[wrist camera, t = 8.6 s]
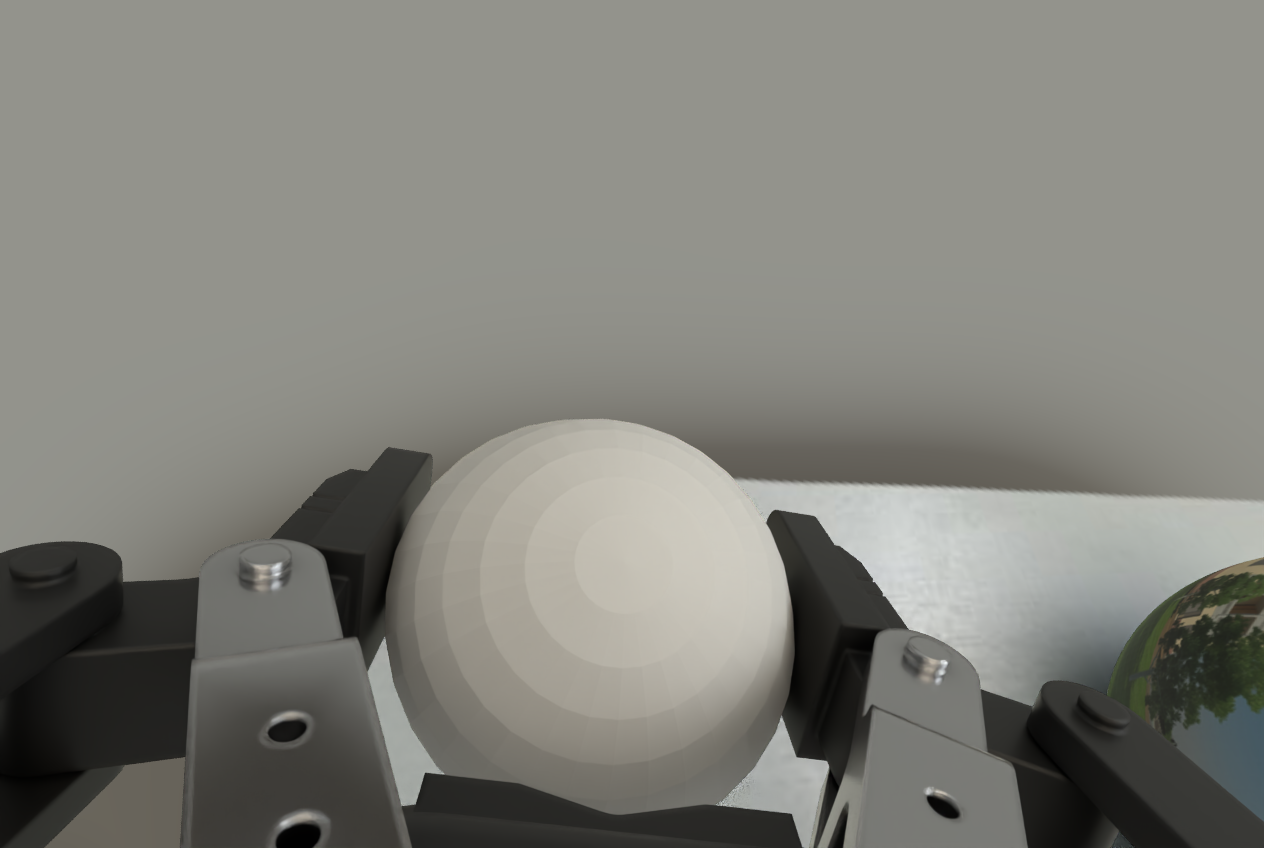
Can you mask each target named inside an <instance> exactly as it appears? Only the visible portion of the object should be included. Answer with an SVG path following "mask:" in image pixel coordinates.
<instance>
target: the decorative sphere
mask: <svg viewBox="0 0 1264 848" xmlns="http://www.w3.org/2000/svg"><path fill="white" fill-rule="evenodd" d="M1107 696H1109V697H1111V698H1113V699H1115V700H1116V701H1118V702H1120V703H1121V704H1123V705H1125V706H1126V707H1128V708H1129V709H1131V710H1132V711H1133V712H1135V713H1136V714H1137V715H1139V716H1140V717H1141V718H1142V719H1143V720H1145V721H1146V722H1147V723H1148V724H1149V725H1151V726H1152V727H1153V728H1154V729H1155V730H1156V731H1158V732H1159V733H1160V734H1161V735H1162V736H1163V737H1165V738H1166V739H1167V740H1168V741H1169V742H1170V743H1172V744H1173V745H1174V746H1175V747H1176V748H1178V749H1179V750H1180V751H1181V752H1182V753H1183V754H1185V755H1186V756H1187V757H1188V758H1189V759H1190V760H1192V761H1193V762H1194V763H1195V764H1196V765H1198V766H1199V767H1200V768H1201V769H1202V770H1203V771H1205V772H1206V773H1207V774H1208V775H1209V776H1210V777H1212V778H1213V779H1214V780H1215V781H1216V782H1217V783H1219V784H1220V785H1221V786H1222V787H1223V788H1225V789H1226V790H1227V791H1228V792H1229V793H1230V794H1232V795H1233V796H1234V797H1235V798H1236V799H1237V800H1239V801H1240V802H1241V803H1242V804H1243V805H1245V806H1246V807H1247V808H1248V809H1249V810H1250V811H1252V812H1253V813H1254V814H1255V815H1256V816H1257V817H1259V818H1260V819H1261V820H1262V821H1263V822H1264V557H1263V558H1259V559H1255V560H1251V561H1247V562H1243V563H1240V564H1236V565H1233V566H1230V567H1227V568H1225V569H1222V570H1219V571H1217V572H1214V573H1212V574H1210V575H1207V576H1205V577H1203V578H1201V579H1199V580H1197V581H1195V582H1193V583H1191V584H1190V585H1188V586H1186V587H1184V588H1183V589H1181V590H1180V591H1178V592H1177V593H1175V594H1174V595H1172V596H1171V597H1169V598H1168V599H1167V600H1165V601H1164V602H1163V603H1162V604H1160V605H1159V606H1158V607H1157V608H1156V609H1155V610H1154V611H1153V612H1152V613H1151V614H1150V615H1148V616H1147V618H1146V619H1145V620H1144V621H1143V622H1142V623H1141V624H1140V625H1139V627H1138V628H1137V629H1136V630H1135V632H1134V633H1133V634H1132V636H1131V637H1130V639H1129V640H1128V642H1127V644H1126V645H1125V647H1124V649H1123V650H1122V652H1121V654H1120V656H1119V658H1118V661H1117V663H1116V665H1115V668H1114V670H1113V673H1112V676H1111V680H1110V683H1109V687H1108V691H1107Z"/></svg>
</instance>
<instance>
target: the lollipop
mask: <svg viewBox="0 0 1264 848" xmlns="http://www.w3.org/2000/svg"><path fill="white" fill-rule="evenodd" d="M385 639H386V644H387V650H388V655H389V661H390V666H391V672H392V677H393V682H394V686H395V688H396V691H397V693H398V696H399V698H400V701H401V703H402V706H403V708H404V711H405V713H406V716H407V718H408V721H409V723H410V726H411V728H412V730H413V731H414V733H415V734H416V736H417V737H418V739H419V740H420V742H421V743H422V745H423V746H424V748H425V749H426V751H427V752H428V754H429V755H430V757H431V758H432V760H433V761H434V763H435V764H436V766H437V767H438V768H439V769H440V770H441V771H442V772H443V773H444V774H445V775H450V776H459V777H467V778H476V779H485V780H494V781H503V782H512V783H520V784H523V785H526V786H529V787H531V788H534V789H537V790H540V791H543V792H546V793H549V794H552V795H555V796H558V797H561V798H564V799H567V800H570V801H572V802H575V803H578V804H581V805H584V806H587V807H590V808H593V809H596V810H599V811H602V812H605V813H609V814H615V815H624V814H632V813H640V812H648V811H656V810H664V809H672V808H680V807H688V806H696V805H704V804H708V805H716V804H717V803H719V802H720V801H722V800H723V799H724V798H725V797H726V796H727V795H728V794H729V793H730V792H731V791H732V790H733V789H734V788H735V787H736V786H737V785H738V784H739V783H740V782H741V781H742V780H743V779H744V778H745V777H746V776H747V775H748V774H749V773H750V772H751V770H752V769H753V768H754V767H755V765H756V763H757V762H758V760H759V759H760V757H761V755H762V754H763V752H764V750H765V749H766V747H767V745H768V744H769V742H770V741H771V739H772V737H773V736H774V734H775V732H776V729H777V726H778V724H779V721H780V718H781V715H782V712H783V710H784V707H785V704H786V701H787V698H788V696H789V691H790V684H791V677H792V670H793V663H794V657H795V645H794V622H793V610H792V603H791V598H790V593H789V588H788V583H787V578H786V573H785V568H784V564H783V561H782V559H781V556H780V554H779V551H778V549H777V546H776V544H775V541H774V538H773V536H772V533H771V531H770V529H769V527H768V526H767V524H766V523H765V521H764V519H763V518H762V516H761V514H760V513H759V511H758V510H757V508H756V506H755V505H754V503H753V501H752V500H751V499H750V498H749V496H748V495H747V494H746V493H745V492H744V491H743V490H742V488H741V487H740V486H739V485H738V484H737V483H736V482H735V481H734V479H733V478H732V477H731V476H730V475H729V474H728V473H727V472H726V471H725V470H723V469H722V468H721V467H720V466H719V465H717V464H716V463H715V462H714V461H712V460H711V459H710V458H709V457H707V456H706V455H705V454H704V453H702V452H701V451H699V450H698V449H696V448H694V447H692V446H690V445H688V444H686V443H685V442H683V441H681V440H679V439H678V438H676V437H674V436H672V435H669V434H666V433H663V432H660V431H657V430H654V429H652V428H649V427H645V426H643V425H640V424H635V423H628V422H622V421H616V420H609V419H574V420H573V419H572V420H559V421H553V422H547V423H541V424H536V425H530V426H525V427H523V428H520V429H517V430H515V431H512V432H510V433H507V434H504V435H502V436H499V437H496V438H494V439H492V440H490V441H488V442H487V443H485V444H484V445H482V446H480V447H479V448H477V449H476V450H474V451H472V452H471V453H469V454H468V455H466V456H464V457H463V458H461V459H460V460H459V461H458V462H457V463H456V464H455V465H454V466H453V467H452V468H450V469H449V470H448V471H447V472H446V473H445V474H444V475H443V476H442V477H441V478H440V479H439V480H438V481H437V482H435V483H434V485H433V486H432V487H431V489H430V490H429V492H428V493H427V494H426V496H425V497H424V499H423V500H422V501H421V503H420V504H419V505H418V507H417V508H416V510H415V511H414V512H413V514H412V515H411V518H410V520H409V522H408V524H407V526H406V529H405V531H404V533H403V535H402V538H401V540H400V542H399V544H398V546H397V549H396V551H395V555H394V559H393V563H392V568H391V572H390V577H389V581H388V586H387V590H386V613H385Z"/></svg>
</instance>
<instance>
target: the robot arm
mask: <svg viewBox="0 0 1264 848" xmlns="http://www.w3.org/2000/svg"><path fill="white" fill-rule="evenodd" d="M432 465H433V459H432V455H431V454H428V453H422V452H416V451H409V450H403V449H397V448H391V447H388V448H387V449H386V450H385V451H384V452H383V453H382V454H381V456H380V457H379V458H378V459H377V460H376V462H375V463H374V464H373V465H372V466H371V468H370V469H369V470H368V471H361V470H354V469H350V470H347V471H345V472H342V473H340V474H338V475H335V476H333V477H331V478H328V479H326V480H325V482H324V483H322V484H321V486H320V487H319V488H318V489H317V490H316V491H315V492H314V493H313V496H310V497H309V498H308V499H307V500H306V501H305V503H303V504H302V507H301V508H299V509H298V510H297V511H296V512H295V513H294V514H293V515H292V516H291V517H290V518H289V519H288V520H287V521H286V522H285V523H284V524H283V525H282V526H281V528H280V529H279V530H278V531H277V532H276V533H275V534H274V535H273V536H272V537H271V538H270V539H259V540H251V541H246V542H241V543H237V544H234V545H231V546H228V547H225V548H223V549H221V550H219V551H217V552H215V553H214V554H212V555H211V556H210V557H209V558H208V559H206V560H205V561H204V563H203V564H202V566H201V569H200V575H199V577H198V578H191V579H180V580H160V581H135V582H123V573H122V561H121V558H120V556H119V555H118V554H117V553H116V552H114V551H113V550H112V549H109V548H107V547H104V546H101V545H97V544H93V543H87V542H49V543H41V544H35V545H29V546H24V547H20V548H16V549H12V550H8V551H6V552H3V553H0V848H44V847H45V846H46V845H47V844H48V843H49V842H50V841H51V840H52V839H53V838H54V837H55V836H57V835H58V834H59V832H61V831H62V829H64V828H65V827H66V826H67V825H68V824H69V823H70V822H71V821H72V820H73V819H74V818H75V817H76V816H77V815H78V814H79V813H80V812H81V811H82V810H83V809H84V808H85V807H86V806H87V805H88V804H89V803H90V802H91V801H92V800H93V799H94V798H95V797H96V796H97V795H98V794H99V793H100V792H101V791H102V790H103V789H104V788H105V787H106V786H107V785H108V784H109V783H110V782H111V781H112V780H113V779H114V778H115V777H116V776H117V775H118V774H119V773H120V772H121V770H122V769H123V767H124V765H129V764H136V763H144V762H151V761H159V760H165V759H174V758H181V757H185V773H184V790H183V806H182V822H181V838H180V848H803V847H802V845H801V842H800V839H799V836H798V832H797V829H796V826H795V823H794V820H793V816H792V814H788V813H779V812H770V811H761V810H752V809H743V808H734V807H726V806H717V805H708V804H704V805H696V806H688V807H680V808H672V809H664V810H656V811H648V812H640V813H632V814H624V815H615V814H609V813H605V812H602V811H599V810H596V809H593V808H590V807H587V806H584V805H581V804H578V803H575V802H572V801H570V800H567V799H564V798H561V797H558V796H555V795H552V794H549V793H546V792H543V791H540V790H537V789H534V788H531V787H529V786H526V785H523V784H520V783H512V782H503V781H494V780H485V779H476V778H467V777H459V776H450V775H441V774H432V773H425V775H424V778H423V782H422V785H421V789H420V792H419V795H418V799H417V802H416V805H408V806H401V803H400V799H399V795H398V791H397V787H396V783H395V779H394V775H393V772H392V768H391V764H390V760H389V756H388V752H387V748H386V744H385V740H384V736H383V733H382V729H381V725H380V721H379V717H378V713H377V709H376V705H375V701H374V697H373V694H372V690H371V686H370V682H369V678H368V674H367V671H368V669H369V667H370V665H371V663H372V661H373V659H374V657H375V655H376V653H377V651H378V649H379V647H380V645H381V642H382V640H383V638H384V636H385V613H386V590H387V586H388V581H389V577H390V572H391V568H392V563H393V559H394V555H395V551H396V549H397V546H398V544H399V542H400V540H401V538H402V535H403V533H404V531H405V529H406V526H407V524H408V522H409V520H410V518H411V515H412V514H413V512H414V511H415V510H416V508H417V507H418V505H419V504H420V503H421V501H422V500H423V499H424V497H425V496H426V494H427V493H428V492H429V490H430V484H431V476H432ZM766 524H767V526H768V527H769V529H770V531H771V533H772V536H773V538H774V541H775V544H776V546H777V549H778V551H779V554H780V556H781V559H782V561H783V564H784V568H785V573H786V578H787V583H788V588H789V593H790V598H791V603H792V610H793V622H794V645H795V657H794V663H793V670H792V677H791V684H790V691H789V696H788V698H787V701H786V704H785V707H784V710H783V712H782V717H783V720H784V723H785V725H786V728H787V731H788V734H789V737H790V740H791V742H792V745H793V748H794V751H795V754H796V757H800V758H808V759H816V760H825V761H827V762H828V764H829V770H828V772H827V775H826V778H825V781H824V784H823V786H822V789H821V793H820V798H819V802H818V807H817V812H816V817H815V821H814V826H813V831H812V835H811V840H810V845H809V848H1111V846H1112V844H1113V843H1114V841H1115V839H1116V837H1117V835H1118V833H1119V832H1121V833H1122V834H1123V835H1124V836H1125V837H1126V838H1127V840H1128V841H1129V842H1130V843H1131V844H1132V845H1133V846H1134V847H1135V848H1264V822H1263V821H1262V820H1261V819H1260V818H1259V817H1257V816H1256V815H1255V814H1254V813H1253V812H1252V811H1250V810H1249V809H1248V808H1247V807H1246V806H1245V805H1243V804H1242V803H1241V802H1240V801H1239V800H1237V799H1236V798H1235V797H1234V796H1233V795H1232V794H1230V793H1229V792H1228V791H1227V790H1226V789H1225V788H1223V787H1222V786H1221V785H1220V784H1219V783H1217V782H1216V781H1215V780H1214V779H1213V778H1212V777H1210V776H1209V775H1208V774H1207V773H1206V772H1205V771H1203V770H1202V769H1201V768H1200V767H1199V766H1198V765H1196V764H1195V763H1194V762H1193V761H1192V760H1190V759H1189V758H1188V757H1187V756H1186V755H1185V754H1183V753H1182V752H1181V751H1180V750H1179V749H1178V748H1176V747H1175V746H1174V745H1173V744H1172V743H1170V742H1169V741H1168V740H1167V739H1166V738H1165V737H1163V736H1162V735H1161V734H1160V733H1159V732H1158V731H1156V730H1155V729H1154V728H1153V727H1152V726H1151V725H1149V724H1148V723H1147V722H1146V721H1145V720H1143V719H1142V718H1141V717H1140V716H1139V715H1137V714H1136V713H1135V712H1133V711H1132V710H1131V709H1129V708H1128V707H1126V706H1125V705H1123V704H1121V703H1120V702H1118V701H1116V700H1115V699H1113V698H1111V697H1109V696H1107V695H1105V694H1103V693H1101V692H1099V691H1097V690H1094V689H1092V688H1089V687H1086V686H1083V685H1080V684H1077V683H1073V682H1068V681H1050V682H1047V683H1045V684H1044V685H1043V686H1042V688H1041V690H1040V692H1039V695H1038V697H1037V699H1036V701H1035V703H1034V706H1033V707H1032V706H1029V705H1026V704H1023V703H1020V702H1017V701H1014V700H1011V699H1008V698H1005V697H1002V696H999V695H996V694H993V693H990V692H987V691H984V690H982V689H980V680H979V676H978V674H977V672H976V670H975V668H974V667H973V666H972V664H971V663H970V662H969V661H968V660H967V659H966V658H965V657H964V656H962V655H961V654H960V653H959V652H957V651H956V650H955V649H953V648H952V647H950V646H948V645H947V644H945V643H943V642H941V641H939V640H937V639H935V638H933V637H931V636H928V635H926V634H923V633H920V632H916V631H912V630H909V629H908V628H907V626H906V625H905V624H904V622H903V621H902V619H901V618H900V617H899V615H898V614H897V612H896V611H895V609H894V608H893V607H892V605H891V604H890V602H889V601H888V600H887V598H886V597H884V596H883V593H882V591H881V590H880V588H879V587H878V586H877V584H876V583H875V582H873V579H872V577H871V576H870V574H869V573H868V572H867V570H866V569H865V567H864V566H863V565H862V563H861V562H860V561H858V560H857V559H856V558H855V557H853V556H852V555H851V554H849V553H848V552H847V551H845V550H844V549H843V548H841V547H840V546H835V545H834V543H833V542H832V540H831V539H830V537H829V536H828V534H827V533H826V531H825V530H824V528H823V527H822V526H821V524H820V523H819V521H818V520H817V518H816V517H814V516H810V515H804V514H798V513H792V512H786V511H779V510H774V511H772V512H771V514H770V515H769V517H768V520H767V522H766Z"/></svg>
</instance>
